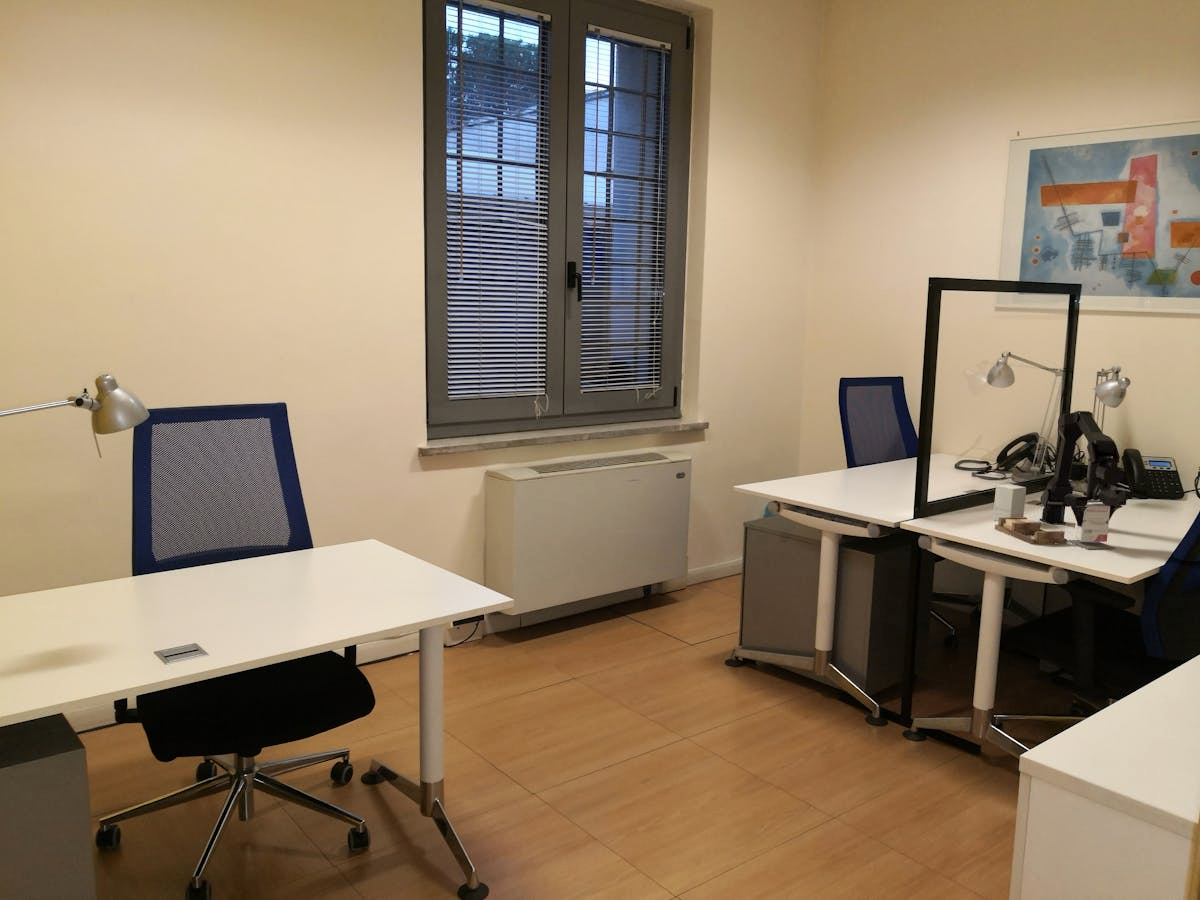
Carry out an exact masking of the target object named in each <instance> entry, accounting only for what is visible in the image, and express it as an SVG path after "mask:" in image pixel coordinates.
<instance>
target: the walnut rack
mask: <svg viewBox="0 0 1200 900" xmlns="http://www.w3.org/2000/svg"><path fill="white" fill-rule="evenodd" d="M997 522H998V523H997V524H994V530H995V531H999V532H1000V533H1003V532H1004V533H1003V534H1006V535H1007V536H1010V535H1011V537H1014V538H1015V539H1018V540H1020V541H1023V542H1026V543H1028V544H1030V545H1032V544H1039V545H1056V544H1055V543H1058V544H1057V545H1060V544H1059V543H1068V542H1067V540H1068V539H1067V538H1066V537H1065V531H1063V530H1049V531H1048V530H1044V529H1042V528H1041V527H1042V523H1041V521H1032V520H1030V519H1028V517H1025V516H1023V517H1000V518H999V521H997ZM1030 536H1034V537H1030Z"/></svg>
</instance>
